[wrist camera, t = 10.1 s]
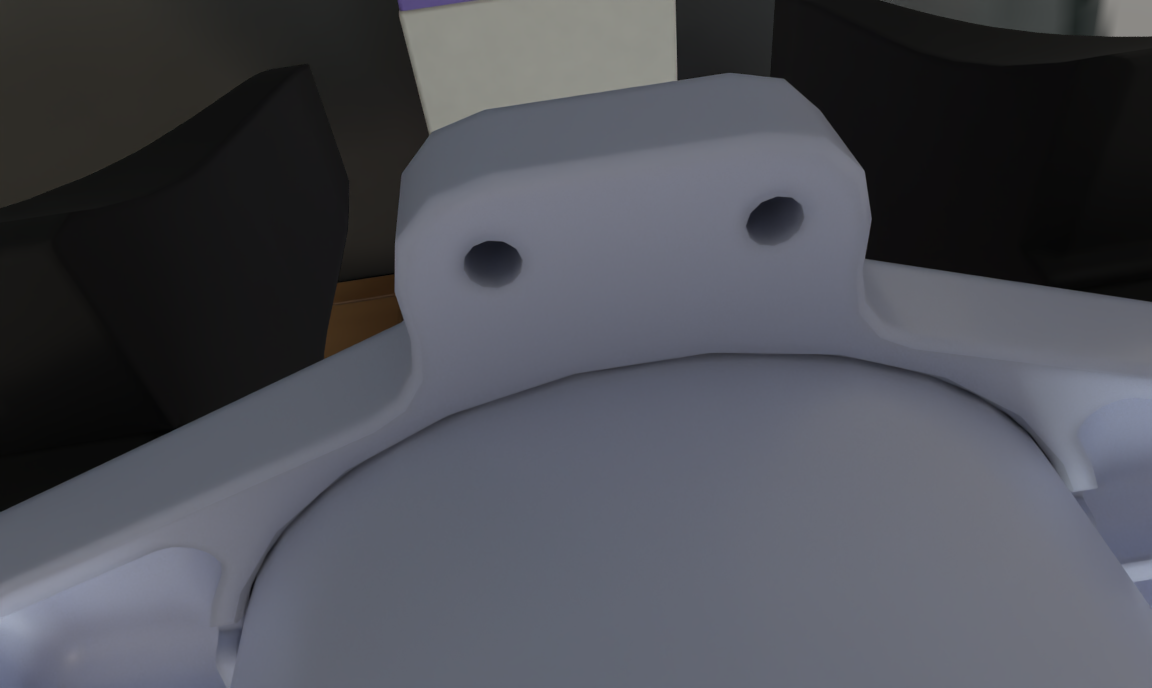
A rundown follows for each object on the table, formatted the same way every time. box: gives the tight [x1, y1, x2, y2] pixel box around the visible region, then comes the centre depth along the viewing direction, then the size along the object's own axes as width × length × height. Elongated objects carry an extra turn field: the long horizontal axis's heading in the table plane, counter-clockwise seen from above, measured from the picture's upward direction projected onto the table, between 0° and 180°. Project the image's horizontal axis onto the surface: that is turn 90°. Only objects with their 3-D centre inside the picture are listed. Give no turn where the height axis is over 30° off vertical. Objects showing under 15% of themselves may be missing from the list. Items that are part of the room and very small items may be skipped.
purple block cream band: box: [397, 0, 677, 135], centre depth 14 cm, size 4×8×4 cm, turn 6°
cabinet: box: [324, 274, 404, 359], centre depth 21 cm, size 16×13×8 cm
